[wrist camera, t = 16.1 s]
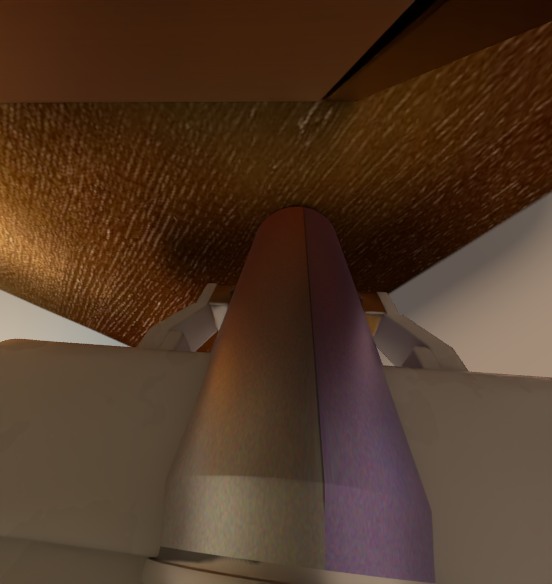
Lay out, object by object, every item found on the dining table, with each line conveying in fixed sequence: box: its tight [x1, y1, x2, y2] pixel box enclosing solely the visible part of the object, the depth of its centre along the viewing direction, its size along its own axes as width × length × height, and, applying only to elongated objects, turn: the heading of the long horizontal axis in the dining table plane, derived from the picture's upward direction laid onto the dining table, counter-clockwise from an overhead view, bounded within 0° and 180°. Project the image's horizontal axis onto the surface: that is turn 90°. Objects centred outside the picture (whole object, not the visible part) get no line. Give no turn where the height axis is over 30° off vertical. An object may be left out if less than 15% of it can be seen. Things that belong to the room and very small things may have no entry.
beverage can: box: [141, 207, 436, 584], centre depth 10 cm, size 6×6×15 cm
